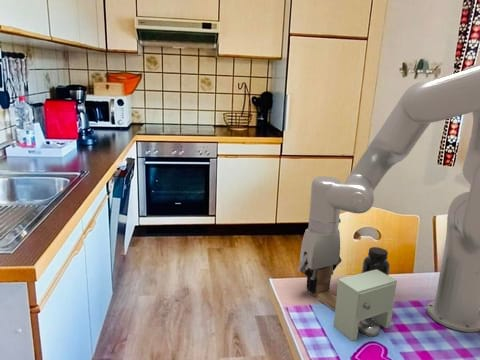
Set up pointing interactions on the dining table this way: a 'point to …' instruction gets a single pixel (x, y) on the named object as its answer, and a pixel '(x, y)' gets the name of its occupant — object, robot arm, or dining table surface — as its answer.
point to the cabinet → (364, 301)
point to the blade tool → (324, 287)
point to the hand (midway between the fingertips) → (318, 288)
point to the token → (368, 328)
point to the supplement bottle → (376, 261)
